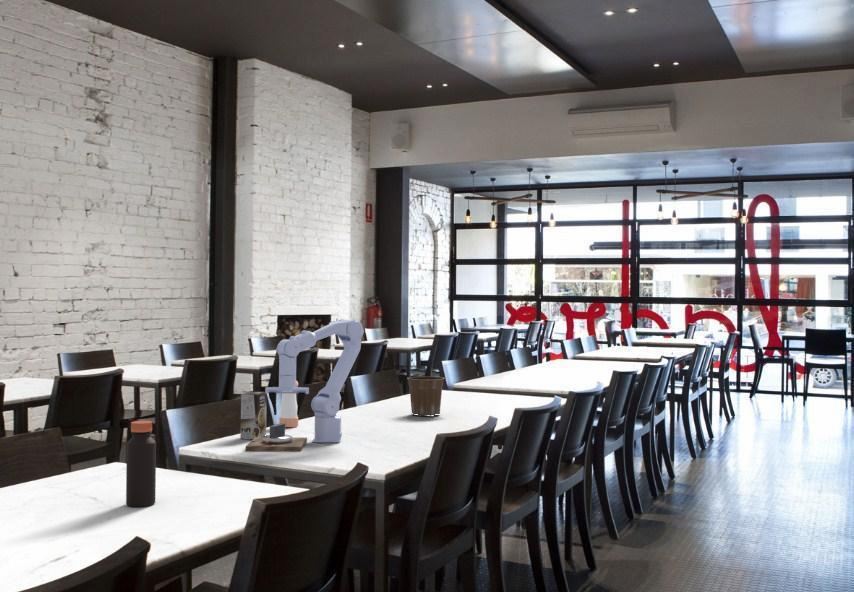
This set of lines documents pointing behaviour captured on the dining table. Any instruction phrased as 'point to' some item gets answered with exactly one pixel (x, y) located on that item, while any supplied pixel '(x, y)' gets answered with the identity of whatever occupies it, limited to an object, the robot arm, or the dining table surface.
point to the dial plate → (276, 445)
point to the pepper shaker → (289, 409)
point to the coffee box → (253, 415)
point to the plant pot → (425, 394)
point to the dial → (277, 435)
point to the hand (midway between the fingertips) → (286, 414)
